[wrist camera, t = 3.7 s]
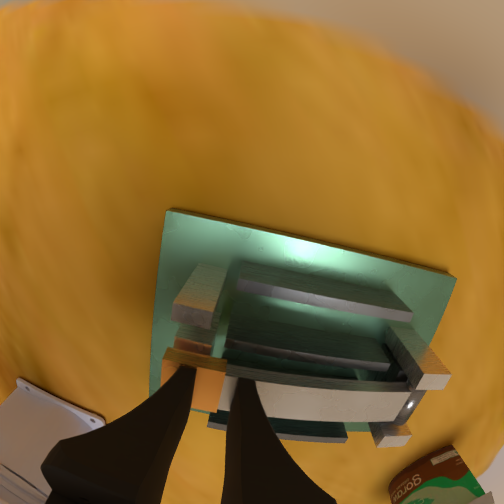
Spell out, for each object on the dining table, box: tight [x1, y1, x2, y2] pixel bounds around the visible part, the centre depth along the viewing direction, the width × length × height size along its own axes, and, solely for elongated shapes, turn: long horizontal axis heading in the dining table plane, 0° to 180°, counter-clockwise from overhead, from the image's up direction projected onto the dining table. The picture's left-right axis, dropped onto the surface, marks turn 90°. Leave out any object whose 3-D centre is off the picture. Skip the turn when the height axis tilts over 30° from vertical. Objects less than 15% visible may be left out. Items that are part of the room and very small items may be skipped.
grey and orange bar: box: [160, 347, 427, 426], centre depth 12 cm, size 12×2×1 cm, turn 78°
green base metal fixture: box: [149, 208, 457, 448], centre depth 14 cm, size 16×12×6 cm
